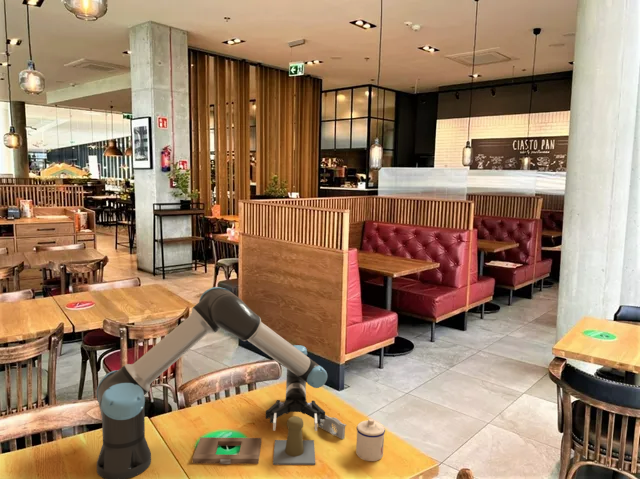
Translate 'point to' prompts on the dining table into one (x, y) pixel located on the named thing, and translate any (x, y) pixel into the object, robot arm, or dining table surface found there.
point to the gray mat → (302, 459)
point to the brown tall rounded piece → (294, 437)
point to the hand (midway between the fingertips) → (295, 426)
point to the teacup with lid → (370, 440)
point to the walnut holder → (208, 455)
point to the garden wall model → (327, 426)
